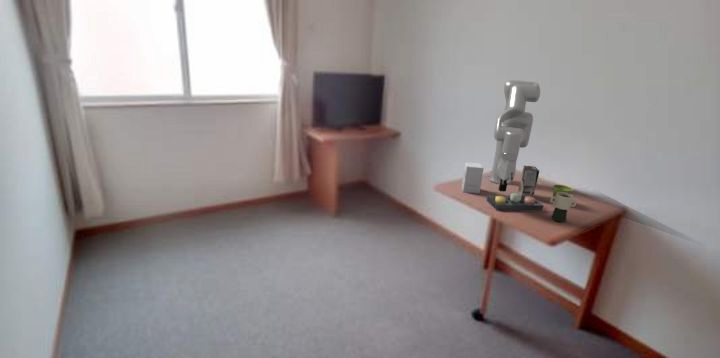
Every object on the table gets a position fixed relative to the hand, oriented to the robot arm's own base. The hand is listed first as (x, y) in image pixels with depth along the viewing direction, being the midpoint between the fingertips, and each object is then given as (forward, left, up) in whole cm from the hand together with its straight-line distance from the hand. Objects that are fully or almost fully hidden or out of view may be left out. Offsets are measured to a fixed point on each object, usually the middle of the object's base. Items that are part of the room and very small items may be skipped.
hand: (502, 190), depth 188 cm
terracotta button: (+1, +16, -8) cm, 17 cm away
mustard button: (+1, 0, -7) cm, 8 cm away
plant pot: (-4, +36, -8) cm, 37 cm away
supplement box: (-20, -7, -8) cm, 23 cm away
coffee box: (-13, +22, -8) cm, 27 cm away
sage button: (+1, +8, -6) cm, 10 cm away
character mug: (+17, +22, -8) cm, 29 cm away
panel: (+1, +8, -8) cm, 11 cm away
